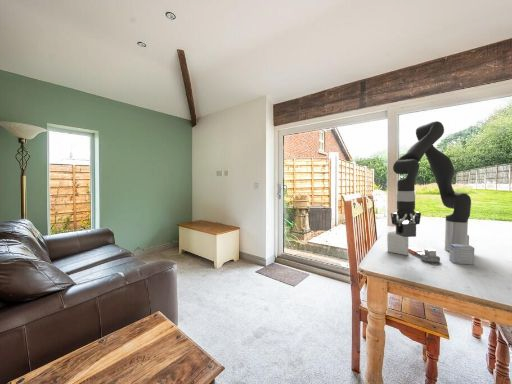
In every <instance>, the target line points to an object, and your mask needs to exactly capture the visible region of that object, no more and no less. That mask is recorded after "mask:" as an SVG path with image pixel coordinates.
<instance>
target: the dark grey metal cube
mask: <svg viewBox="0 0 512 384" xmlns="http://www.w3.org/2000/svg"><path fill="white" fill-rule="evenodd" d="M395 231H396V230H395ZM396 234H397V235H400V236H402V237H408V238H411V237H412V238H414V237H415V238H416V237H417V225H416V223H412V222H409V221H408V220H404V222H403V223H401V234H399V233H397V231H396Z"/></svg>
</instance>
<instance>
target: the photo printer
mask: <svg viewBox="0 0 512 384" xmlns="http://www.w3.org/2000/svg"><path fill="white" fill-rule="evenodd" d="M386 247H387V252H388V253H393V254H399V255H403V256H408V255H409V252H408V248H409V237H402V236H400V235H397V234H396V230H390V231H388V232H387V246H386Z"/></svg>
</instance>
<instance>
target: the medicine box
mask: <svg viewBox="0 0 512 384" xmlns="http://www.w3.org/2000/svg"><path fill="white" fill-rule="evenodd" d="M448 260H449V261H450V262H451V263H453V264H460V265H461V264H462V265H475V247H474V246H472V245H470V244H469V245H460V244H450V251H449V259H448Z"/></svg>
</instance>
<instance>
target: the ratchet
mask: <svg viewBox="0 0 512 384" xmlns="http://www.w3.org/2000/svg"><path fill="white" fill-rule="evenodd" d="M408 254H412V255H413V256H416V257H417V258H420V261H422V262H423V263H426V264H431V265H439V264H440V263H441V257H440V256H438V255H437V250H436V249H433V248H424V252H423V251H422V250H420V249H418V248H415V247H408Z"/></svg>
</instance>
